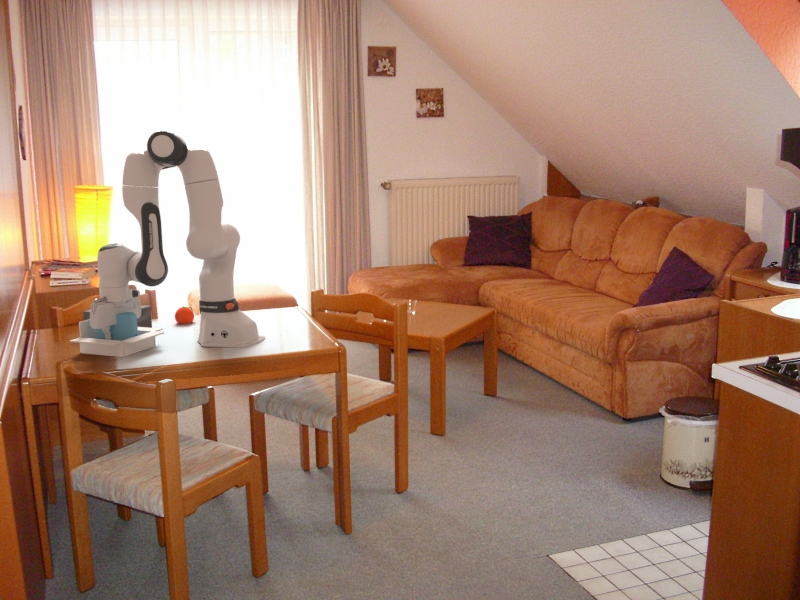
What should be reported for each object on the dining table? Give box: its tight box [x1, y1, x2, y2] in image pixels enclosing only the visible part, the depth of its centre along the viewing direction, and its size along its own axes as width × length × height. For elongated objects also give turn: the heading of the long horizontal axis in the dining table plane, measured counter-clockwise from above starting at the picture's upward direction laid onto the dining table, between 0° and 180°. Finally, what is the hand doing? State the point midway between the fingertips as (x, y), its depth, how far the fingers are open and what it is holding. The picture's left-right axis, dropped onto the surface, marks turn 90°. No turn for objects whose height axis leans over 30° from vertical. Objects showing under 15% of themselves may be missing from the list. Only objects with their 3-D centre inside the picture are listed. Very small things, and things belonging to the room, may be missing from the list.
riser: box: [82, 304, 153, 328], centre depth 280 cm, size 16×16×9 cm
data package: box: [96, 312, 138, 341], centre depth 255 cm, size 12×4×12 cm, turn 91°
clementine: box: [174, 306, 195, 325], centre depth 293 cm, size 8×7×7 cm
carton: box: [69, 319, 165, 358], centre depth 254 cm, size 21×24×10 cm
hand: (117, 337), depth 255 cm, fingers open, 6 cm apart
